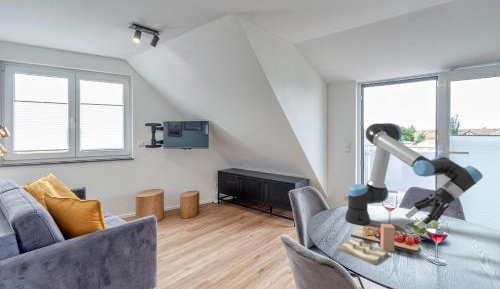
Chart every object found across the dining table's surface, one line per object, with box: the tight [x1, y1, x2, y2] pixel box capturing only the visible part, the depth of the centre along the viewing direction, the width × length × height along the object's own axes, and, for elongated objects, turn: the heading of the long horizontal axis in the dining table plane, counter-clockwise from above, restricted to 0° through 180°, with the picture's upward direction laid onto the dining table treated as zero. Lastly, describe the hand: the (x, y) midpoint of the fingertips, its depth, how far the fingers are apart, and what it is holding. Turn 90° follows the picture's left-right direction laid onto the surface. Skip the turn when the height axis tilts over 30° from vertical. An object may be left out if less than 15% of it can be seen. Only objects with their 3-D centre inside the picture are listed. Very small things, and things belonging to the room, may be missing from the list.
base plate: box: [337, 238, 389, 265], centre depth 123 cm, size 14×18×4 cm
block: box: [379, 223, 396, 252], centre depth 126 cm, size 5×5×12 cm
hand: (411, 221), depth 123 cm, fingers open, 13 cm apart
